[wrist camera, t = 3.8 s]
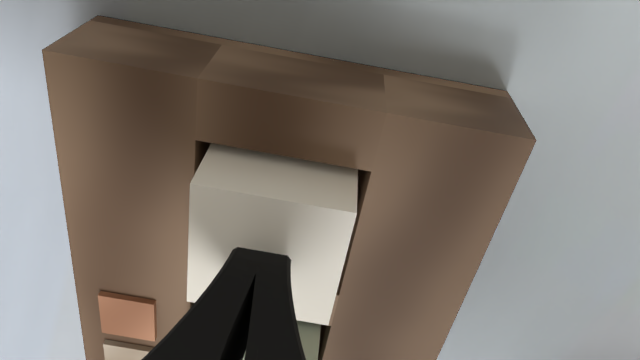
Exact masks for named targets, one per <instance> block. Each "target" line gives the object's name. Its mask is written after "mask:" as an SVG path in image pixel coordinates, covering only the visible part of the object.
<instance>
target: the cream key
mask: <svg viewBox="0 0 640 360" xmlns="http://www.w3.org/2000/svg"><path fill="white" fill-rule="evenodd" d="M357 190H358V169H354V168H348V167H343V166H337V165H332V164H326V163H320V162H315V161H309V160H304V159H298V158H293V157H287V156H281V155H276V154H270V153H265V152H259V151H254V150H248V149H242V148H237V147H231V146H226V145H220V144H214V143H211V144H210V146H209V148H208V150H207V152H206V154H205V156H204V158H203V160H202V162H201V163H200V165H199V167H198V169H197V171H196V173H195V175H194V177H193V179H192V181H191V183H190V196H189V233H188V270H187V302H193V303H195V302H196V301H197V300H198V298H199V297H200V296H201V295H202V293H203V292H204V291H205V290H206V288H207V287H208V286H209V285H210V283H211V282H212V280H213V279H214V278H215V276H216V275H217V274H218V272H219V271H220V269H221V268H222V266H223V265H224V263H225V262H226V260H227V259H228V257H229V255H230V253H231V251H232V250H233V249H235V248H236V247H241V248H247V249H253V250H258V251H264V252H270V253H276V254H282V255H287V256H288V257H289V258H290V259H291V288H292V297H293V304H294V310H295V315H296V320H298V321H304V322H310V323H316V324H322V325H329V321H330V317H331V313H332V309H333V305H334V301H335V297H336V293H337V289H338V286H339V282H340V278H341V274H342V270H343V266H344V262H345V258H346V254H347V250H348V247H349V243H350V239H351V235H352V231H353V227H354V223H355V219H356V215H357Z"/></svg>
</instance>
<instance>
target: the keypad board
mask: <svg viewBox="0 0 640 360" xmlns="http://www.w3.org/2000/svg"><path fill="white" fill-rule="evenodd" d="M42 54H43V61H44V68H45V75H46V82H47V89H48V96H49V103H50V110H51V117H52V124H53V131H54V138H55V145H56V152H57V159H58V166H59V173H60V180H61V187H62V194H63V201H64V208H65V215H66V222H67V229H68V236H69V243H70V250H71V257H72V264H73V271H74V279H75V286H76V293H77V300H78V307H79V314H80V321H81V328H82V335H83V342H84V349H85V356H86V360H141V359H142V358H143V357H145V356H146V355H147V354H148V353H149V352H150V351H151V350H152V349H153V348H154V347H155V346H156V345H157V344H158V343H159V342H160V341H161V340H162V339H163V338H164V337H165V336H166V335H167V334H168V333H169V331H170V330H171V329H172V328H173V327H174V326H175V325H176V324H177V323H178V322H179V320H180V319H181V318H182V317H183V316H184V315H185V314H186V313H187V312H188V311H189V309H190V308H191V307H192V306H193V305H194V303H193V302H187V270H188V233H189V196H190V183H191V181H192V179H193V177H194V175H195V173H196V171H197V169H198V167H199V165H200V163H201V162H202V160H203V158H204V156H205V154H206V152H207V150H208V148H209V146H210V144H211V143H214V144H220V145H226V146H231V147H237V148H242V149H248V150H254V151H259V152H265V153H270V154H276V155H281V156H287V157H293V158H298V159H304V160H309V161H315V162H320V163H326V164H332V165H337V166H343V167H348V168H354V169H358V190H357V215H356V219H355V223H354V227H353V231H352V235H351V239H350V243H349V247H348V250H347V254H346V258H345V262H344V266H343V270H342V274H341V278H340V282H339V286H338V289H337V293H336V297H335V301H334V305H333V309H332V313H331V317H330V321H329V325H322V324H321V331H320V342H319V353H318V360H436V359H437V357H438V355H439V353H440V351H441V348H442V346H443V344H444V342H445V340H446V337H447V335H448V333H449V331H450V329H451V326H452V324H453V322H454V320H455V318H456V316H457V313H458V311H459V309H460V307H461V305H462V302H463V300H464V298H465V296H466V294H467V291H468V289H469V287H470V285H471V283H472V280H473V278H474V276H475V274H476V272H477V269H478V267H479V265H480V263H481V261H482V258H483V256H484V254H485V252H486V250H487V248H488V245H489V243H490V241H491V239H492V237H493V234H494V232H495V230H496V228H497V226H498V223H499V221H500V219H501V217H502V215H503V212H504V210H505V208H506V206H507V204H508V201H509V199H510V197H511V195H512V193H513V190H514V188H515V186H516V184H517V182H518V180H519V177H520V175H521V173H522V171H523V169H524V166H525V164H526V162H527V160H528V158H529V155H530V153H531V151H532V149H533V147H534V144H535V142H536V139H535V137H534V135H533V134H532V132H531V130H530V129H529V127H528V125H527V124H526V122H525V120H524V118H523V117H522V115H521V113H520V112H519V110H518V108H517V107H516V105H515V103H514V102H513V100H512V98H511V97H510V95H509V93H508V91H503V90H498V89H493V88H487V87H482V86H476V85H471V84H466V83H460V82H455V81H449V80H444V79H439V78H433V77H428V76H422V75H417V74H412V73H406V72H401V71H395V70H390V69H385V68H379V67H374V66H368V65H363V64H358V63H352V62H347V61H341V60H336V59H331V58H325V57H320V56H314V55H309V54H304V53H298V52H293V51H287V50H282V49H276V48H271V47H266V46H260V45H255V44H249V43H244V42H239V41H233V40H228V39H222V38H217V37H212V36H206V35H201V34H195V33H190V32H185V31H179V30H174V29H168V28H163V27H158V26H152V25H147V24H141V23H136V22H131V21H125V20H120V19H114V18H109V17H104V16H96V17H94V18H93V19H91V20H90V21H88V22H86V23H85V24H83V25H81V26H80V27H78V28H77V29H75V30H73V31H72V32H70V33H69V34H67V35H65V36H64V37H62V38H60V39H59V40H57V41H56V42H54V43H52V44H51V45H49V46H48V47H46V48H44V49H43V50H42Z"/></svg>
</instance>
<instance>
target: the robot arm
mask: <svg viewBox="0 0 640 360" xmlns="http://www.w3.org/2000/svg"><path fill="white" fill-rule="evenodd" d="M245 351H246V353H245ZM244 354H245V358H244V360H306V358H305V354H304V351H303V347H302V343H301V339H300V335H299V330H298V325H297V320H296V315H295V310H294V304H293V297H292V288H291V259H290V258H289V257H288V256H287V255H282V254H276V253H270V252H264V251H258V250H253V249H247V248H241V247H236V248H235V249H233V250H232V251H231V253H230V255H229V257H228V259H227V260H226V262H225V263H224V265H223V266H222V268H221V269H220V271H219V272H218V274H217V275H216V276H215V278H214V279H213V280H212V282H211V283H210V285H209V286H208V287H207V288H206V290H205V291H204V292H203V293H202V295H201V296H200V297H199V298H198V300H197V301H196V302H195V303H194V305H193V306H192V307H191V308H190V309H189V311H188V312H187V313H186V314H185V315H184V316H183V317H182V318H181V319H180V320H179V322H178V323H177V324H176V325H175V326H174V327H173V328H172V329H171V330H170V331H169V333H168V334H167V335H166V336H165V337H164V338H163V339H162V340H161V341H160V342H159V343H158V344H157V345H156V346H155V347H154V348H153V349H152V350H151V351H150V352H149V353H148V354H147V355H146V356H145V357H143V358H142V359H141V360H243V357H244Z"/></svg>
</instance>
